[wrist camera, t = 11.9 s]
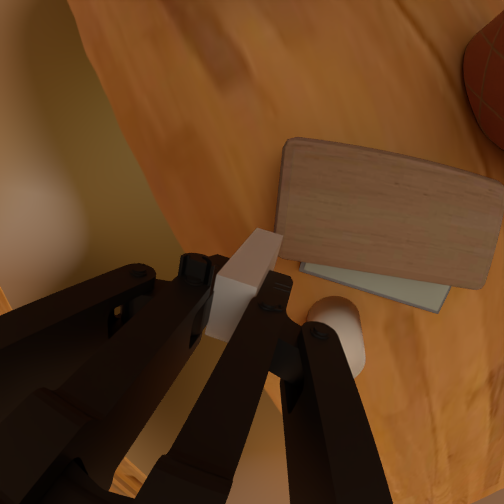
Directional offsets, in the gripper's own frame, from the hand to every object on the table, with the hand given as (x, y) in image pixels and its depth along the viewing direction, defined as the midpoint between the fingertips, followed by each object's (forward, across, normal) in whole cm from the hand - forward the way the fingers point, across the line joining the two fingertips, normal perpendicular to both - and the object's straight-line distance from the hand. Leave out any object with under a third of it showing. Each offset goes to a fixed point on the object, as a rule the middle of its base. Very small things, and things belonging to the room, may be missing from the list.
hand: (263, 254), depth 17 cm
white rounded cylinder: (+20, +9, -14) cm, 26 cm away
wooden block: (+13, -1, +2) cm, 13 cm away
